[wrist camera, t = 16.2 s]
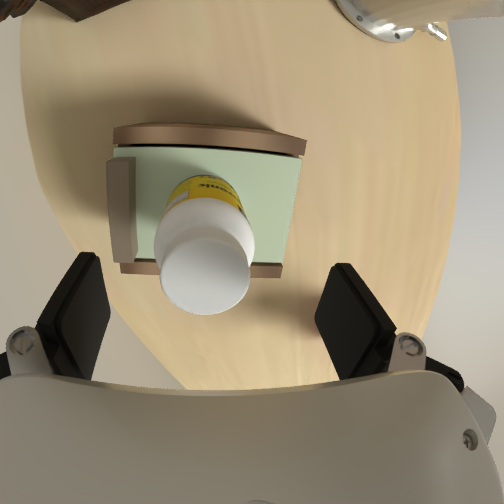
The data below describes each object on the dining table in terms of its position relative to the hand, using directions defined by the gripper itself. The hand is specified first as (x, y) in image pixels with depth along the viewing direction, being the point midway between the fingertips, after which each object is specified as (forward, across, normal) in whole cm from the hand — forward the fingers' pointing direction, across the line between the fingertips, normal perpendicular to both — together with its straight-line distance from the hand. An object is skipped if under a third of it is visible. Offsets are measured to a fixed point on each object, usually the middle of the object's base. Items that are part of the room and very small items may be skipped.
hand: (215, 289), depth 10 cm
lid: (+12, +1, +1) cm, 12 cm away
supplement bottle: (+11, +1, +1) cm, 11 cm away
